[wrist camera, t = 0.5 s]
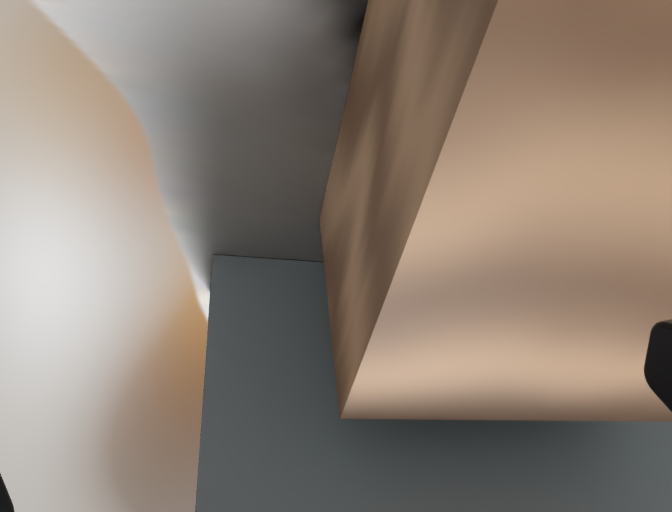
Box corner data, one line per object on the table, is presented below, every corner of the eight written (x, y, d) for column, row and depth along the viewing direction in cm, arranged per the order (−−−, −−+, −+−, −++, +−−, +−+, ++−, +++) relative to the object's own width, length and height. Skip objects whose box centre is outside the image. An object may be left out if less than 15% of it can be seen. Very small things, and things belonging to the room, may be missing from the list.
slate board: (213, 254, 25) (191, 564, 17) (633, 283, 29) (781, 544, 21) (210, 293, 27) (189, 590, 19) (606, 315, 31) (733, 567, 23)
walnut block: (413, -210, 14) (529, -84, 8) (823, -119, 17) (1151, 32, 11) (318, 216, 24) (339, 418, 18) (585, 236, 27) (683, 421, 20)
